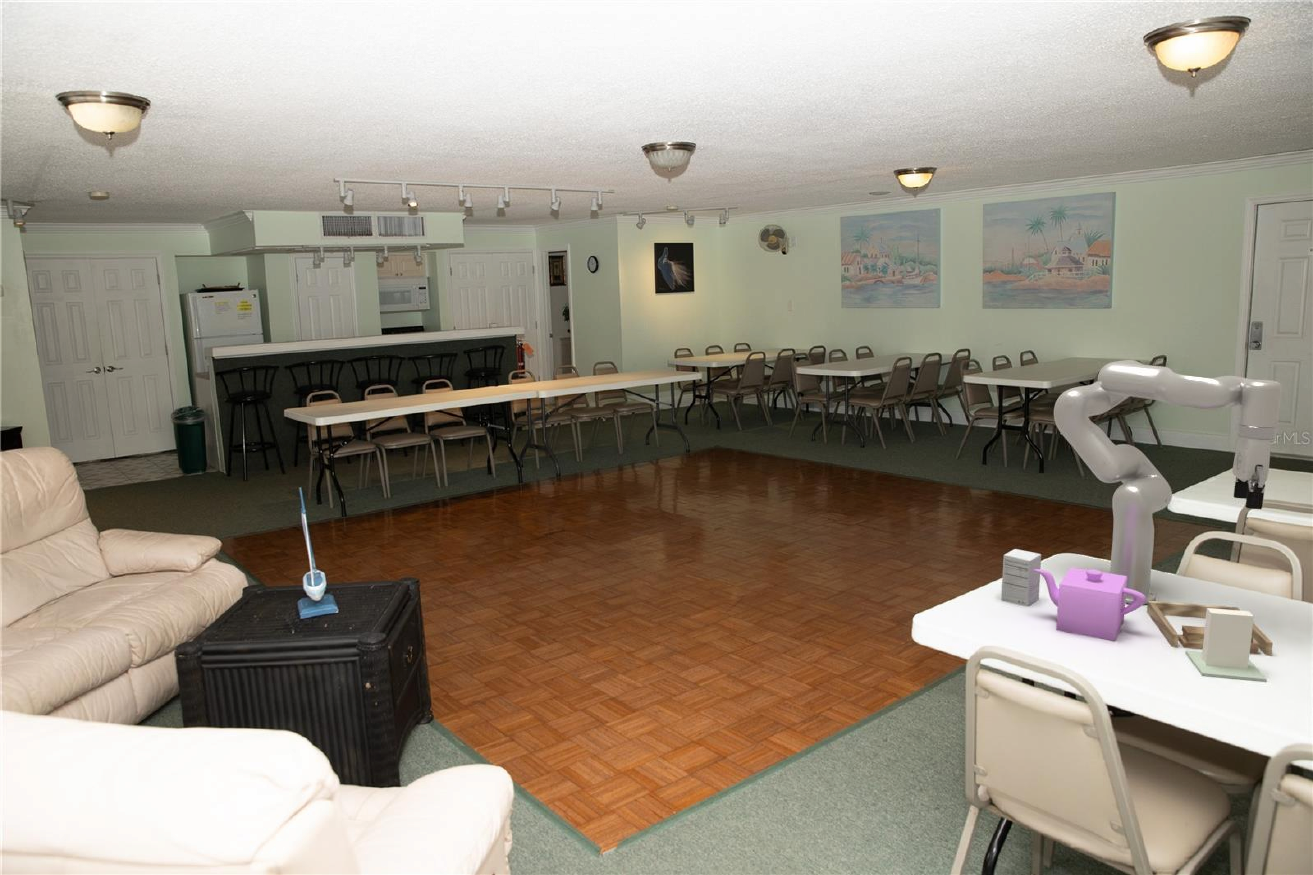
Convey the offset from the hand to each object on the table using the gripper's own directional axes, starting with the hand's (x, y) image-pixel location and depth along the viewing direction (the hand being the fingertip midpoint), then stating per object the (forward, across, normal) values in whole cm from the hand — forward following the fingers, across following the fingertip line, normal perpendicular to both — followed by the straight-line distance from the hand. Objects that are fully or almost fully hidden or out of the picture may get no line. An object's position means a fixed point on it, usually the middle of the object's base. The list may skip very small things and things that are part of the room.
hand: (1247, 503), depth 209 cm
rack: (+31, +8, -7) cm, 32 cm away
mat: (+31, +28, -8) cm, 42 cm away
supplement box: (+32, -3, -48) cm, 58 cm away
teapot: (+32, +10, -34) cm, 47 cm away
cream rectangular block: (+30, +28, -8) cm, 41 cm away
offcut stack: (+31, +16, -7) cm, 35 cm away
